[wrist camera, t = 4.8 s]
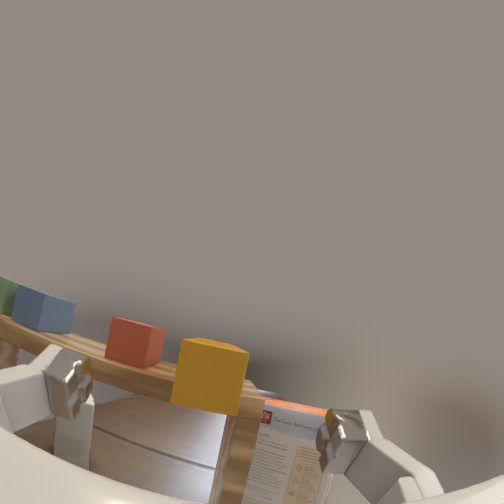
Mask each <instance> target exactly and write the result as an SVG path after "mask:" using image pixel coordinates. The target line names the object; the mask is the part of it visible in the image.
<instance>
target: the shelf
mask: <svg viewBox="0 0 504 504" xmlns="http://www.w3.org/2000/svg"><path fill="white" fill-rule="evenodd" d="M11 317H12V316H8V315H3V314H0V370H1V369H5V368H10V367H14V366H17V362H18V354H19V348H21V349H23V350H26V351H27V352H30V353H32V354H34V355H36V356H38V355H40V354H41V353H42V352H43V351H44V350H45V349H46V348H47V347H48V346H49V345H50V344H56V345H58V346H60V347H63V348H66V349H68V350H71V351H73V352H76V353H78V354H81V355H83V356H86V357H88V358H89V359H90V360H91V369H90V370H89V374H90V375H91V377H92V379H95V380H98V381H101V382H103V383H106V384H109V385H112V386H115V387H118V388H121V389H124V390H128V391H131V392H134V393H137V394H141V395H144V396H148V397H151V398H155V399H158V400H162V401H166V402H170V399H171V394H172V389H173V383H174V378H175V373H176V368H177V365H174V364H170V363H166V362H163V361H159V363H156V364H154V365H151V366H149V367H147V368H144V369H142V368H138V367H135V366H132V365H128V364H125V363H122V362H119V361H116V360H112V359H109V358H106V357H104V356H105V350H106V345H105V344H102V343H99V342H96V341H93V340H90V339H87V338H84V337H81V336H79V335H76V334H73V333H70V334H63V333H50V332H39V331H35V330H33V329H31V328H28V327H26V326H24V325H22V324H20V323H17V322H15V321H13V320H11ZM170 403H171V402H170ZM174 404H175V403H174ZM178 405H179V404H178ZM264 405H265V398H264V397H263V396H262V395H261V393H260V392H259V391H258V390H257V388H256V387H255V386H254V385H253V383H252V382H251V381H249V380H244V383H243V388H242V393H241V397H240V402H239V407H238V412H237V416H232V415H227V418H226V422H225V427H224V432H223V437H222V441H221V446H220V451H219V456H218V460H217V465H216V470H215V474H214V479H213V484H212V488H211V493H210V498H209V502H208V504H241V502H242V499H243V495H244V491H245V487H246V483H247V479H248V475H249V470H250V466H251V462H252V458H253V454H254V449H255V445H256V441H257V436H258V432H259V427H260V423H261V418H262V414H263V409H264ZM182 406H184V405H182ZM186 407H188V406H186ZM190 408H192V407H190ZM195 409H197V408H195ZM199 410H201V409H199ZM204 411H206V410H204ZM209 412H211V411H209ZM214 413H216V412H214ZM219 414H221V413H219ZM224 415H226V414H224Z"/></svg>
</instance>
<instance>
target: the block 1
mask: <svg viewBox="0 0 504 504" xmlns="http://www.w3.org/2000/svg"><path fill="white" fill-rule="evenodd" d="M19 284H21V283H19V282H15V281H13V280H10V279H7V278H5V277H2V276H0V314H3V315H8V316H12V312H13V308H14V303H15V299H16V294H17V290H18V286H19ZM21 285H24V284H21ZM24 286H27V285H24ZM27 287H29V286H27ZM30 288H32V287H30ZM32 289H34V288H32ZM35 290H37V289H35ZM38 291H40V290H38Z"/></svg>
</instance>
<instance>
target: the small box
mask: <svg viewBox="0 0 504 504" xmlns="http://www.w3.org/2000/svg"><path fill="white" fill-rule="evenodd" d="M94 406H95V405H94V401H93V397H92V395H91V393H90V396H89V398H88V400H87V401H86V402H85V403H82V404H80V407H81V411H80V412H79V414H78V415H77V417H76V418H75V420H74V421H73V422H72V421H69V420H67V419H64V418H62V417H60V416H57V415H55V418H54V431H53V455H54V456H56V457H58V458H60V459H63V460H65V461H67V462H69V463H71V464H74V465H76V466H78V467H81V468H83V469H86V470H89V455H90V443H91V433H92V423H93V415H94Z"/></svg>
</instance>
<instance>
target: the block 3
mask: <svg viewBox="0 0 504 504" xmlns="http://www.w3.org/2000/svg"><path fill="white" fill-rule="evenodd" d="M165 332H166V330H165V329H162V328H158V327H154V326H151V325H147V324H143V323H140V322H136V321H132V320H127V319H123V318H119V317H114V316H113V317H112V322H111V326H110V331H109V336H108V341H107V345H106V350H105V356H104V357H106V358H109V359H112V360H116V361H119V362H122V363H125V364H128V365H132V366H135V367H138V368H142V369H144V368H147V367H149V366H151V365H154V364H156V363H159V360H160V355H161V351H162V346H163V341H164V336H165Z"/></svg>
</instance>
